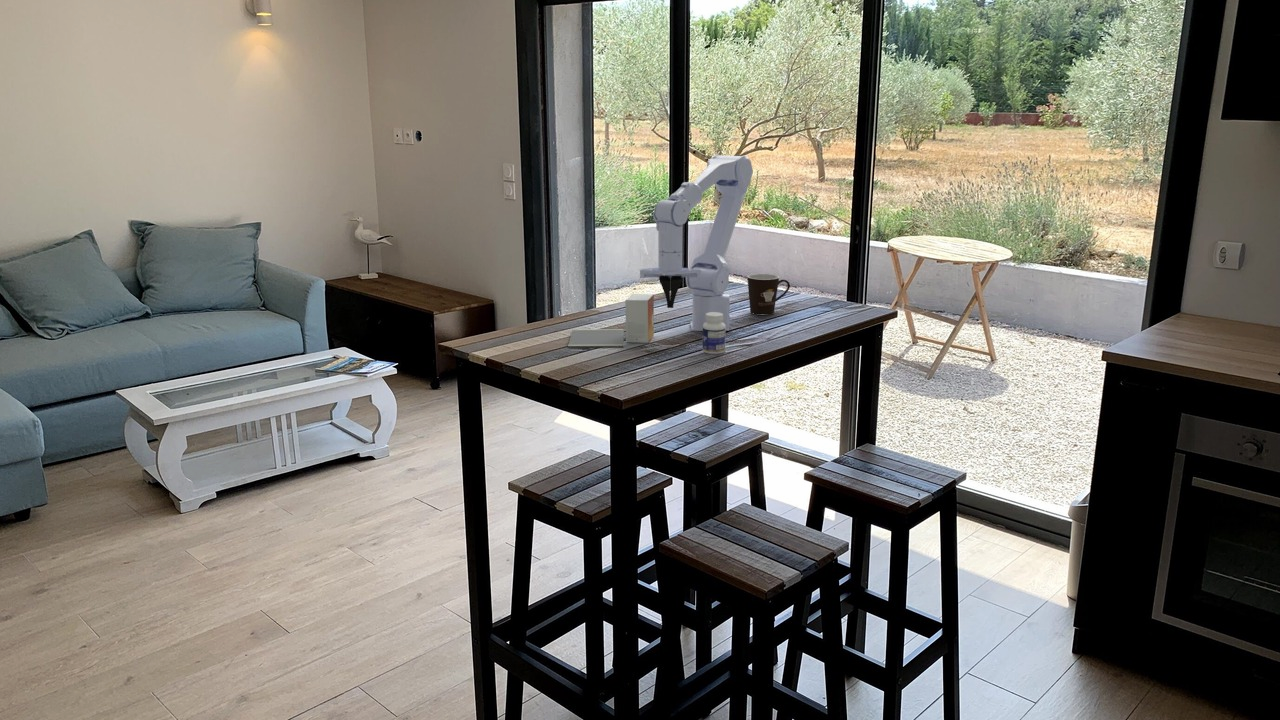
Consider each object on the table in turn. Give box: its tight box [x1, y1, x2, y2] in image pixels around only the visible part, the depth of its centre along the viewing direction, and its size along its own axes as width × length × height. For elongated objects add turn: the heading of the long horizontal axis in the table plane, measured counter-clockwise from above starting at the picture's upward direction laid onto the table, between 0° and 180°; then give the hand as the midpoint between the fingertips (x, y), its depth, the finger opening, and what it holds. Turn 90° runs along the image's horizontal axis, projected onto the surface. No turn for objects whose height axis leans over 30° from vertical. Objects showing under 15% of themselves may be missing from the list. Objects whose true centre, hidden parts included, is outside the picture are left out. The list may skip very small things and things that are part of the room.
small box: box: [624, 293, 655, 344], centre depth 224 cm, size 8×6×10 cm
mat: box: [567, 328, 625, 349], centre depth 225 cm, size 13×16×1 cm
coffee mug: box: [746, 273, 791, 315], centre depth 251 cm, size 12×9×10 cm
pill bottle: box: [702, 312, 727, 355], centre depth 213 cm, size 5×5×9 cm
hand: (670, 307), depth 223 cm, fingers closed
